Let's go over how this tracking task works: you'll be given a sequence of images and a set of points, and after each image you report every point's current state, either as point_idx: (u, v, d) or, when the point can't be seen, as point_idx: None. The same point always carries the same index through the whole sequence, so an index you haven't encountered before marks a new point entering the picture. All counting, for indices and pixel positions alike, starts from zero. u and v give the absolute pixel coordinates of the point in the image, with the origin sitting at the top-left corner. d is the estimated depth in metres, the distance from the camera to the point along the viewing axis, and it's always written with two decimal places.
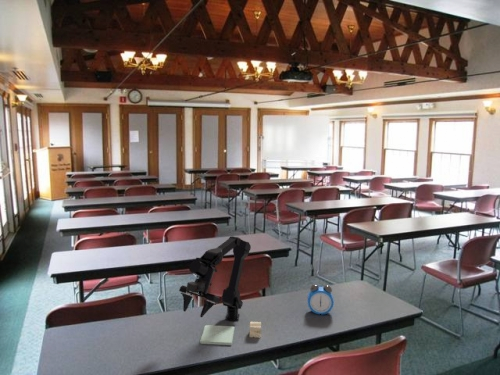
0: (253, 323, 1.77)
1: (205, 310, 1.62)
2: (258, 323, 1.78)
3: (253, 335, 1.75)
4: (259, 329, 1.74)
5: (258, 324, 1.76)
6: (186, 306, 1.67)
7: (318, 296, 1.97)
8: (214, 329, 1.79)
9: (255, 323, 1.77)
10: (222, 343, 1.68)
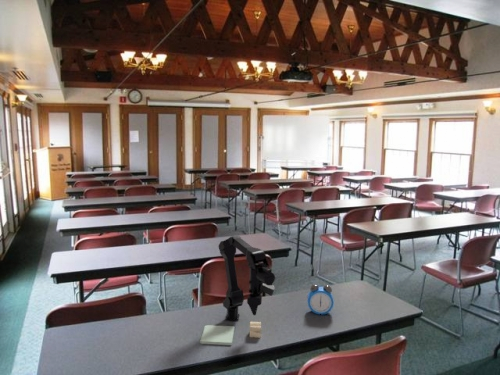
0: (253, 323, 1.77)
1: None
2: (258, 323, 1.78)
3: (253, 335, 1.75)
4: (259, 329, 1.74)
5: (258, 324, 1.76)
6: None
7: (318, 296, 1.97)
8: (214, 329, 1.79)
9: (255, 323, 1.77)
10: (222, 343, 1.68)
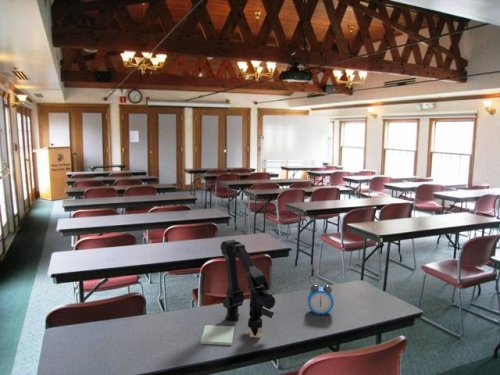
0: None
1: None
2: None
3: (253, 335, 1.75)
4: (259, 329, 1.74)
5: None
6: None
7: (318, 296, 1.97)
8: (214, 329, 1.79)
9: None
10: (222, 343, 1.68)
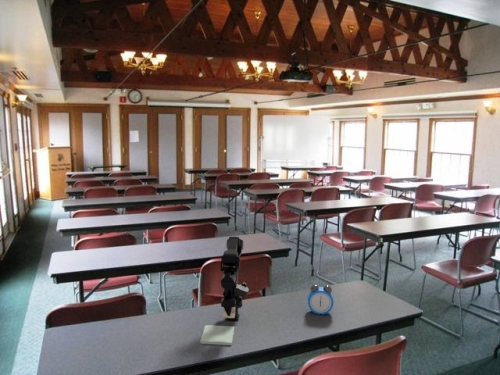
0: None
1: None
2: None
3: None
4: (233, 309, 1.71)
5: None
6: None
7: (318, 296, 1.97)
8: (214, 329, 1.79)
9: None
10: (222, 343, 1.68)
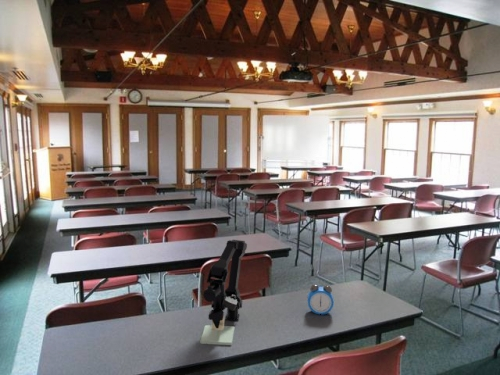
0: None
1: None
2: None
3: (215, 327, 1.72)
4: (222, 321, 1.71)
5: None
6: None
7: (318, 296, 1.97)
8: None
9: None
10: (222, 343, 1.68)
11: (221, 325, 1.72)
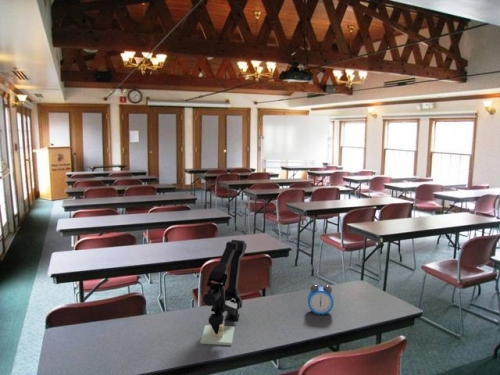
0: None
1: None
2: None
3: (215, 334, 1.72)
4: (221, 328, 1.72)
5: None
6: None
7: (318, 296, 1.97)
8: None
9: None
10: (222, 343, 1.68)
11: (221, 331, 1.72)
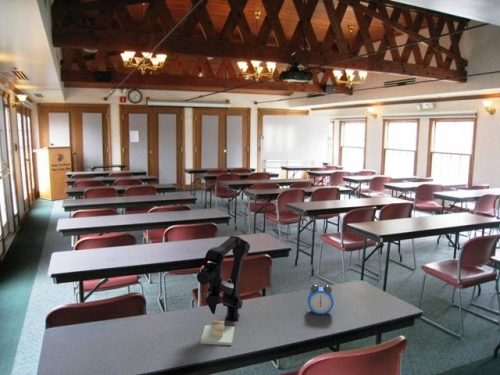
0: (215, 322, 1.75)
1: None
2: (221, 322, 1.75)
3: (215, 334, 1.72)
4: (221, 328, 1.72)
5: (220, 323, 1.74)
6: None
7: (318, 296, 1.97)
8: None
9: (218, 322, 1.75)
10: (222, 343, 1.68)
11: (221, 331, 1.72)
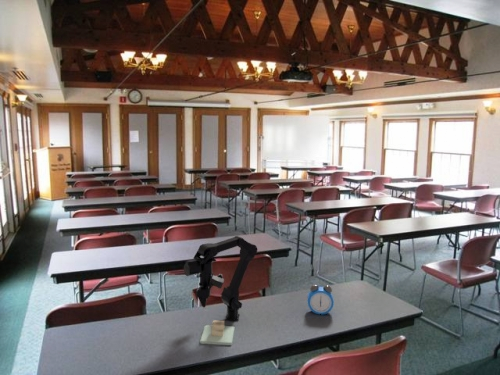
0: (215, 322, 1.75)
1: None
2: (221, 322, 1.75)
3: (215, 334, 1.72)
4: (221, 328, 1.72)
5: (220, 323, 1.74)
6: None
7: (318, 296, 1.97)
8: None
9: (218, 322, 1.75)
10: (222, 343, 1.68)
11: (221, 331, 1.72)
